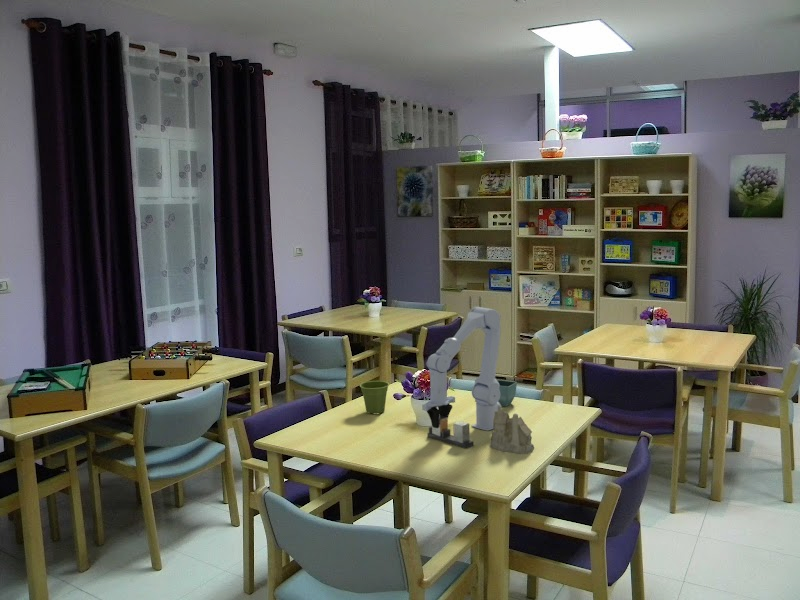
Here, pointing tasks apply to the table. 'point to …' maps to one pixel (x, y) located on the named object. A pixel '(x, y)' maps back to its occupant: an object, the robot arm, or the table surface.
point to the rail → (447, 436)
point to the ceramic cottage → (510, 434)
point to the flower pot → (506, 392)
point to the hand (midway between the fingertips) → (439, 426)
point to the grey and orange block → (440, 426)
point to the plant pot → (374, 395)
